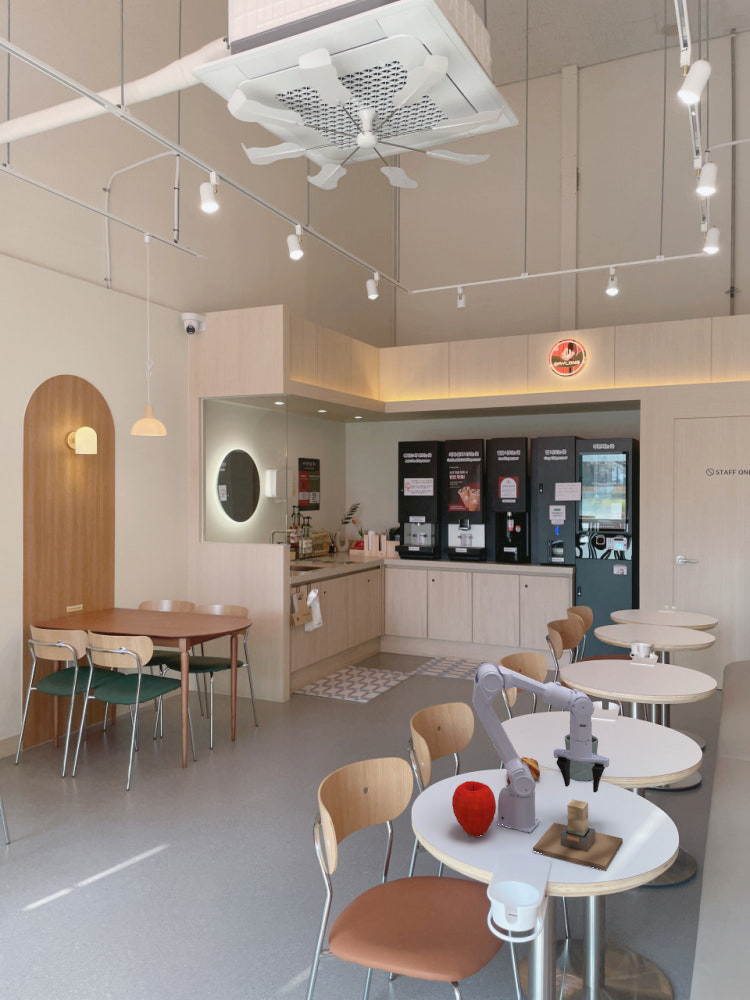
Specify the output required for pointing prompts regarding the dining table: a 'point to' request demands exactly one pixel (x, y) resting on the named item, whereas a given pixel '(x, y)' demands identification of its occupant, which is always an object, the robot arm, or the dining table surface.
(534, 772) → the croissant
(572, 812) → the post
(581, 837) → the sleeve
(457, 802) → the apple
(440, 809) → the dining table surface
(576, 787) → the dining table surface
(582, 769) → the green cup
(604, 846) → the board
